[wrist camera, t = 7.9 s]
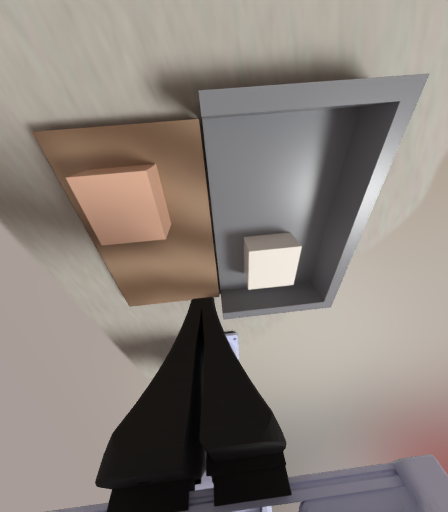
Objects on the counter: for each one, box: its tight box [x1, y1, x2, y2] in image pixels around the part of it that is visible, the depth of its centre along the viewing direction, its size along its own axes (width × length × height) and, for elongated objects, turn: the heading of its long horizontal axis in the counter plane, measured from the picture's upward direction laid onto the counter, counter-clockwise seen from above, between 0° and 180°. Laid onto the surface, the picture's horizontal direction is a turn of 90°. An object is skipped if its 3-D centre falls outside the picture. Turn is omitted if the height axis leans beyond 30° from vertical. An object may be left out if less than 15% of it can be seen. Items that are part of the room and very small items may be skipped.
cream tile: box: [244, 232, 302, 290], centre depth 18 cm, size 4×4×2 cm
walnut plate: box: [32, 119, 219, 306], centre depth 16 cm, size 16×10×1 cm, turn 4°
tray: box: [198, 74, 429, 319], centre depth 16 cm, size 18×12×4 cm, turn 4°
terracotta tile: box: [66, 164, 171, 245], centre depth 13 cm, size 4×4×2 cm
